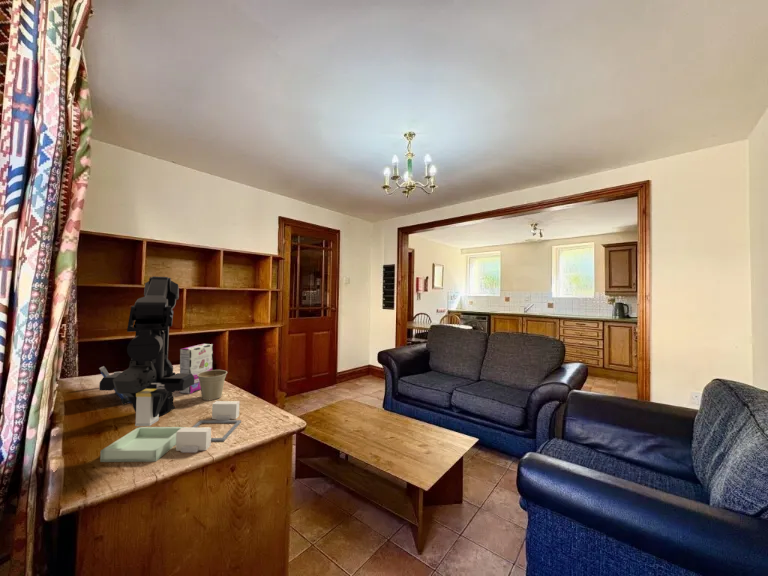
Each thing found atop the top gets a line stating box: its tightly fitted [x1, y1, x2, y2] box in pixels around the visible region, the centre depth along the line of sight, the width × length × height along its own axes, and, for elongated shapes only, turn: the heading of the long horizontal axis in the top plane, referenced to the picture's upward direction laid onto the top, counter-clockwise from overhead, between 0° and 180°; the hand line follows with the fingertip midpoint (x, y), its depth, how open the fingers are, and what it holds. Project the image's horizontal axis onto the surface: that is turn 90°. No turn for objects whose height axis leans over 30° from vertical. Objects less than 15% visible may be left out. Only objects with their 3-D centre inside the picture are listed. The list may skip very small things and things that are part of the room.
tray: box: [99, 426, 183, 463], centre depth 75 cm, size 12×12×2 cm
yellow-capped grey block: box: [134, 389, 160, 427], centre depth 75 cm, size 3×3×8 cm
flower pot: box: [197, 369, 228, 401], centre depth 110 cm, size 9×9×9 cm
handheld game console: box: [100, 370, 132, 405], centre depth 108 cm, size 16×13×9 cm
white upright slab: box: [99, 365, 119, 376], centre depth 118 cm, size 7×2×8 cm, turn 133°
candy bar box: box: [179, 343, 214, 395], centre depth 118 cm, size 11×5×16 cm, turn 168°
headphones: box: [175, 400, 242, 453], centre depth 85 cm, size 12×22×4 cm, turn 4°
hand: (147, 416), depth 75 cm, fingers closed on yellow-capped grey block, 3 cm apart
